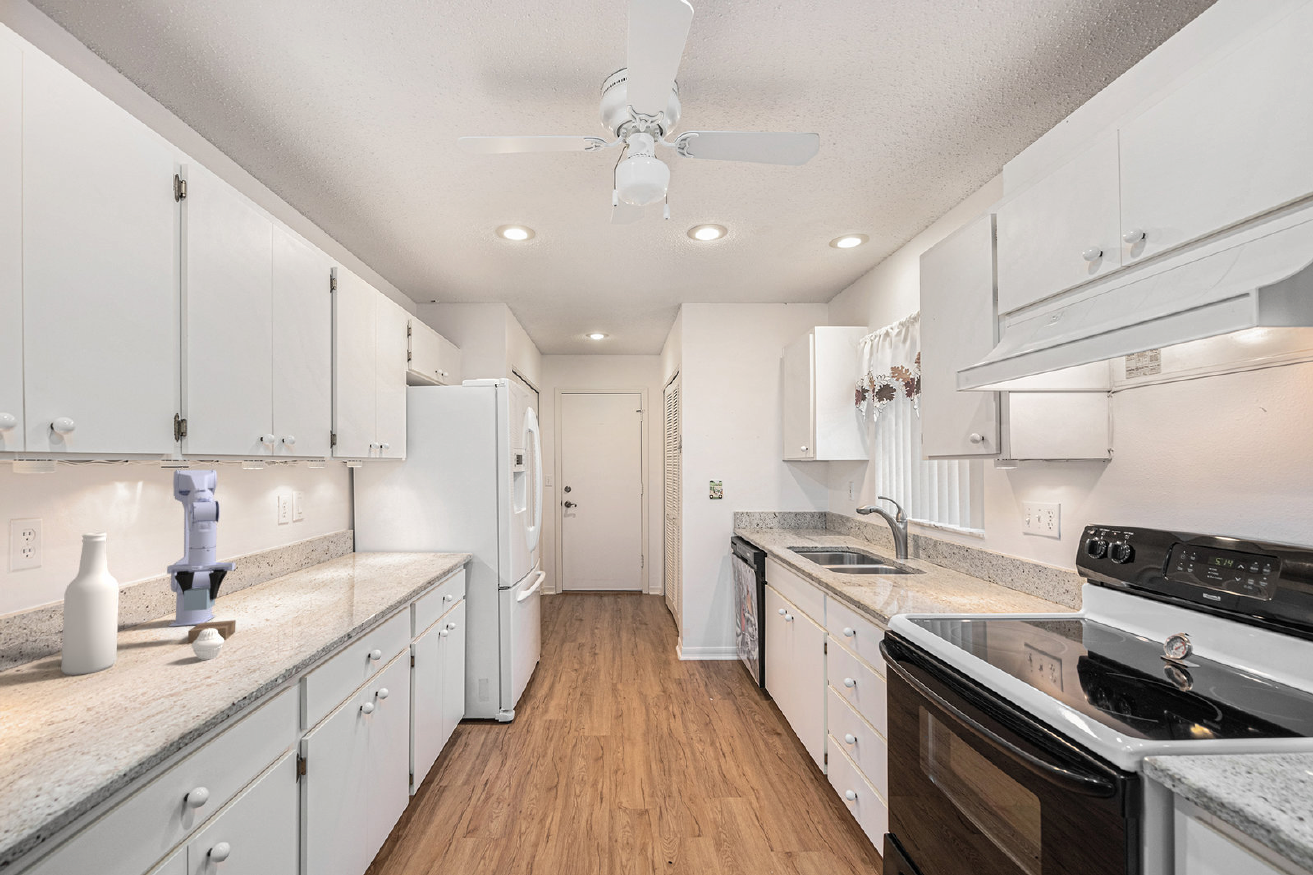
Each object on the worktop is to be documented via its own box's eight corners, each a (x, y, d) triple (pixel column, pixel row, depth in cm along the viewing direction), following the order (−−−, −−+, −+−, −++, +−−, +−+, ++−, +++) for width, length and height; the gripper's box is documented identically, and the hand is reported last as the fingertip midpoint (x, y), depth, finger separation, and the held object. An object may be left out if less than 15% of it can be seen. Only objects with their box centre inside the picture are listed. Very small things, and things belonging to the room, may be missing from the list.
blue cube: (192, 606, 156) (193, 587, 156) (215, 605, 157) (215, 586, 157) (183, 611, 151) (184, 591, 151) (206, 609, 152) (207, 590, 152)
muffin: (230, 654, 141) (231, 624, 141) (207, 663, 135) (208, 632, 135) (208, 653, 142) (208, 623, 142) (184, 661, 136) (185, 631, 136)
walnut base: (199, 636, 157) (200, 623, 157) (235, 633, 160) (235, 620, 160) (187, 645, 149) (188, 631, 150) (225, 641, 152) (225, 627, 152)
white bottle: (124, 665, 133) (130, 532, 135) (74, 678, 125) (80, 536, 126) (102, 660, 137) (107, 530, 138) (52, 673, 128) (58, 534, 130)
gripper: (161, 550, 149) (159, 604, 149) (228, 548, 153) (226, 601, 153) (175, 547, 156) (173, 598, 155) (239, 544, 160) (237, 595, 159)
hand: (200, 599), depth 154 cm, fingers closed on blue cube, 5 cm apart
